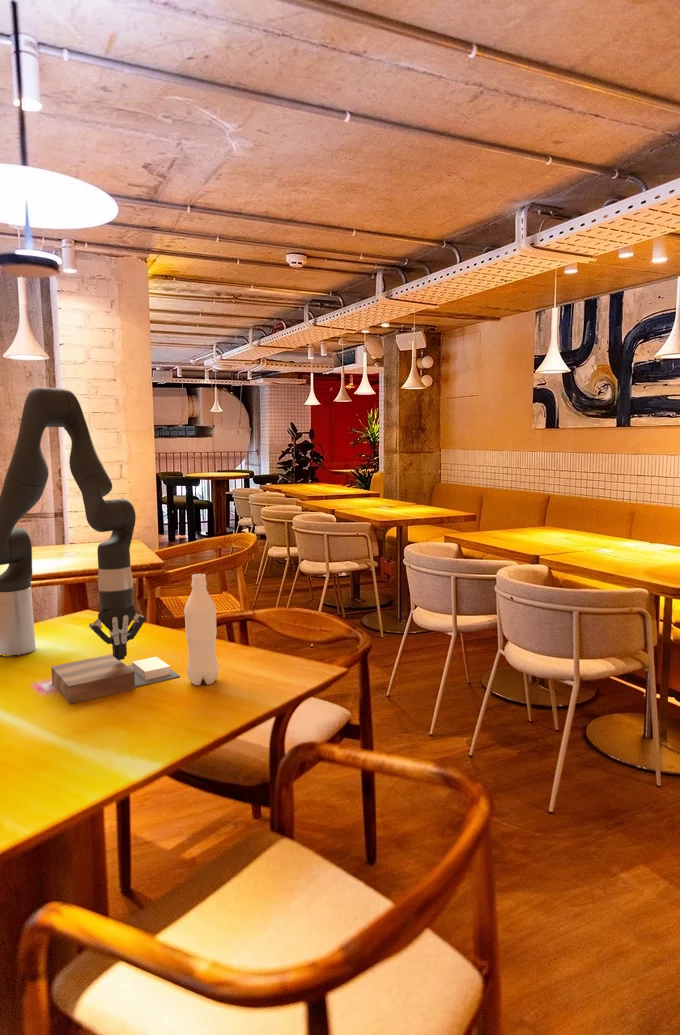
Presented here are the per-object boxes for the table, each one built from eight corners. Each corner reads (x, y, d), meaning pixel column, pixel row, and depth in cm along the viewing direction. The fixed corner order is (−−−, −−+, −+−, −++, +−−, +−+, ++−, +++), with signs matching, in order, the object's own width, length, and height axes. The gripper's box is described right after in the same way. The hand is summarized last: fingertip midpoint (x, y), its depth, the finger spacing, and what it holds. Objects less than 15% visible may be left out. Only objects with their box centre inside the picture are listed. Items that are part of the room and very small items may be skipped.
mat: (113, 669, 161) (113, 668, 161) (156, 660, 168) (156, 659, 168) (133, 687, 149) (133, 686, 149) (180, 676, 156) (179, 675, 156)
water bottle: (225, 678, 154) (221, 573, 151) (206, 689, 147) (202, 579, 145) (200, 674, 157) (195, 571, 154) (180, 684, 150) (175, 577, 148)
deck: (52, 683, 153) (51, 666, 153) (113, 669, 161) (112, 654, 161) (69, 704, 140) (68, 686, 140) (135, 688, 148) (134, 671, 148)
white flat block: (156, 656, 164) (156, 664, 164) (132, 661, 160) (132, 669, 160) (170, 666, 156) (170, 674, 157) (145, 671, 153) (145, 680, 153)
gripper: (138, 579, 159) (142, 649, 161) (81, 587, 151) (86, 660, 153) (149, 584, 153) (153, 657, 155) (91, 593, 145) (95, 669, 147)
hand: (120, 658), depth 154 cm, fingers closed
